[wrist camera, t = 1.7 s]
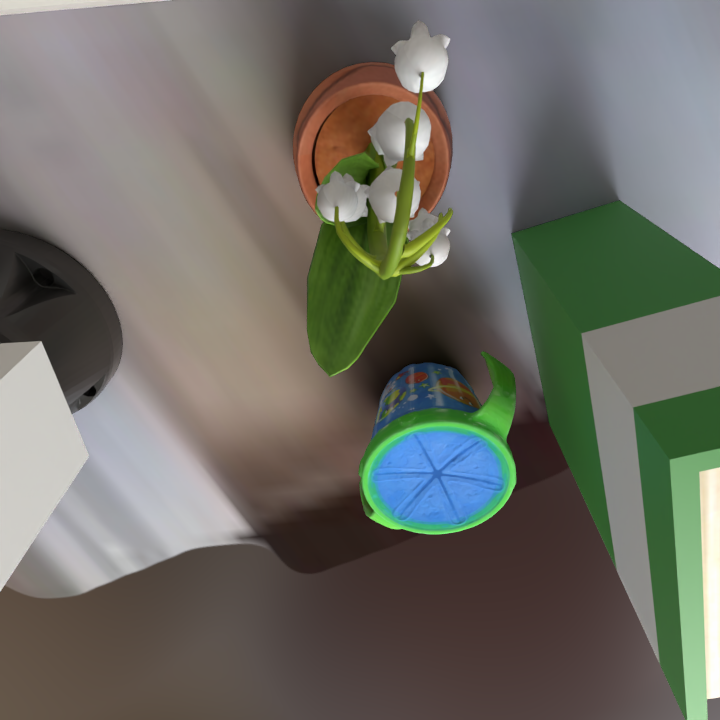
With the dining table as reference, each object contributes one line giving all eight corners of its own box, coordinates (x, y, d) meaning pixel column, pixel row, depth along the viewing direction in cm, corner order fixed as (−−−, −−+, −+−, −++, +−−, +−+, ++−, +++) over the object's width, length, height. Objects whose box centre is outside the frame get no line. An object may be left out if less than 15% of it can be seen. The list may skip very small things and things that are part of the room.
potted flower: (304, 11, 33) (182, -22, 11) (472, 38, 33) (662, 54, 12) (290, 212, 39) (193, 441, 17) (432, 231, 39) (510, 476, 18)
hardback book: (639, 402, 46) (854, 699, 26) (549, 423, 48) (687, 724, 27) (619, 200, 38) (917, 403, 17) (511, 233, 39) (669, 459, 19)
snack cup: (405, 481, 51) (413, 573, 43) (317, 418, 48) (305, 506, 39) (539, 374, 45) (580, 457, 36) (450, 294, 42) (471, 365, 33)
